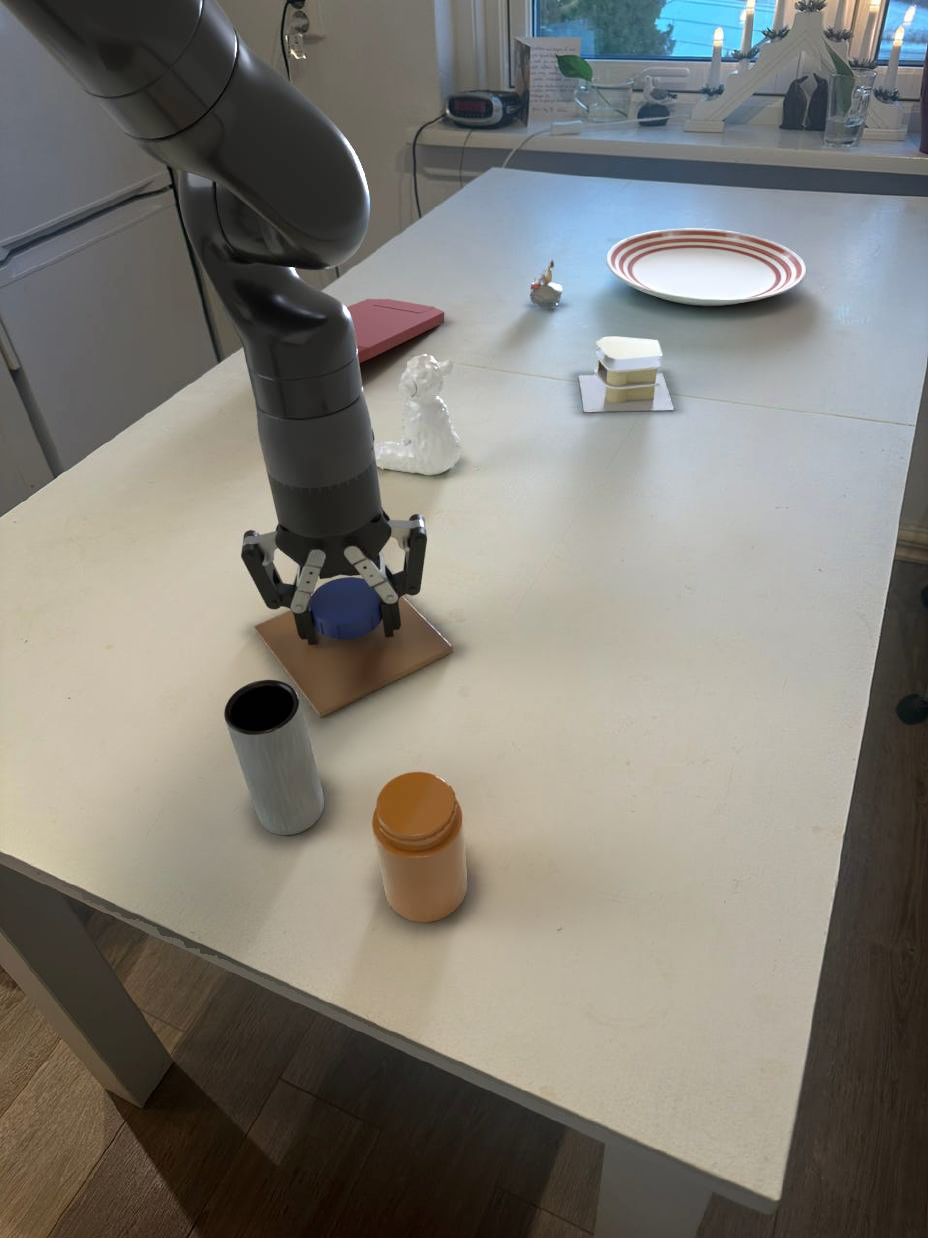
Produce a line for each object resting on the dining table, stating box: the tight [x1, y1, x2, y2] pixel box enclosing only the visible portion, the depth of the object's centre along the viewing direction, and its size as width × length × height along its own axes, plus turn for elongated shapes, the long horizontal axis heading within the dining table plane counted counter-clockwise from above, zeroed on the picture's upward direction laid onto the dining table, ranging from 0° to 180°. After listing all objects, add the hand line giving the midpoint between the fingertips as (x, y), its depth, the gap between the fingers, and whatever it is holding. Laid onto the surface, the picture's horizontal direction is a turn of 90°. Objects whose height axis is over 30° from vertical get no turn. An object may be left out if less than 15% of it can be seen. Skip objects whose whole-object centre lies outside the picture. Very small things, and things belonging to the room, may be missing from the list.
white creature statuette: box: [374, 353, 462, 476], centre depth 88 cm, size 10×9×12 cm
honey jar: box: [371, 771, 468, 923], centre depth 52 cm, size 5×5×8 cm
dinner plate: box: [605, 228, 807, 307], centre depth 123 cm, size 27×27×3 cm
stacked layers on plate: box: [578, 335, 675, 413], centre depth 99 cm, size 10×9×6 cm
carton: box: [346, 298, 445, 364], centre depth 112 cm, size 12×5×25 cm
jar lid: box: [311, 576, 382, 640], centre depth 69 cm, size 6×6×2 cm
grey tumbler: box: [223, 679, 325, 836], centre depth 56 cm, size 4×4×10 cm
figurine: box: [529, 259, 563, 309], centre depth 119 cm, size 5×4×6 cm
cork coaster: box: [253, 595, 454, 718], centre depth 71 cm, size 12×12×1 cm
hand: (351, 633), depth 71 cm, fingers closed on jar lid, 5 cm apart
